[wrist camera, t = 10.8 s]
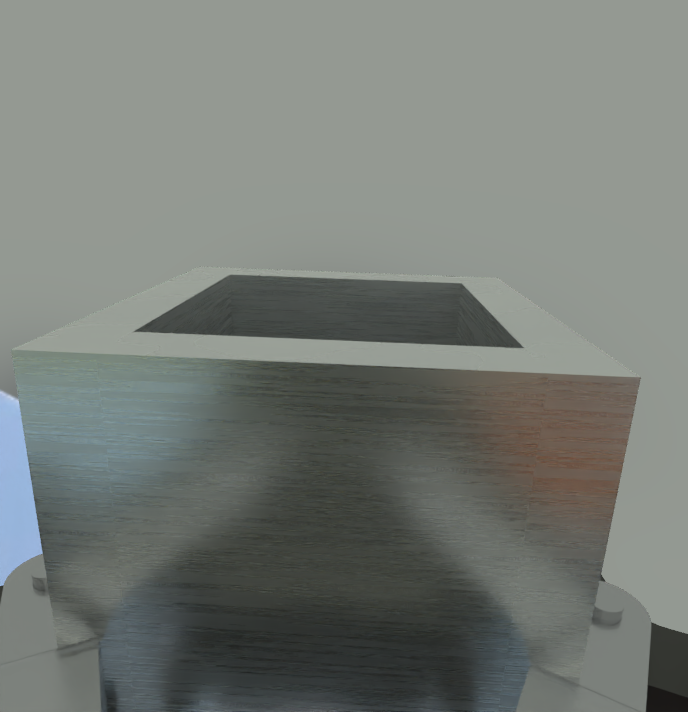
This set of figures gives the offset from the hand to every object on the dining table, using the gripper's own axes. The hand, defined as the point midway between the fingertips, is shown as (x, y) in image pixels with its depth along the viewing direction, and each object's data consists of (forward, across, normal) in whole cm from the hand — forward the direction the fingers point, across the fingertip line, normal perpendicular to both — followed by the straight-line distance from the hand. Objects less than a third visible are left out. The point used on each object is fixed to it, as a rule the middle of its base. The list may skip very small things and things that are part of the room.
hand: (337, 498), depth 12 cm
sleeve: (-2, 0, +7) cm, 7 cm away
